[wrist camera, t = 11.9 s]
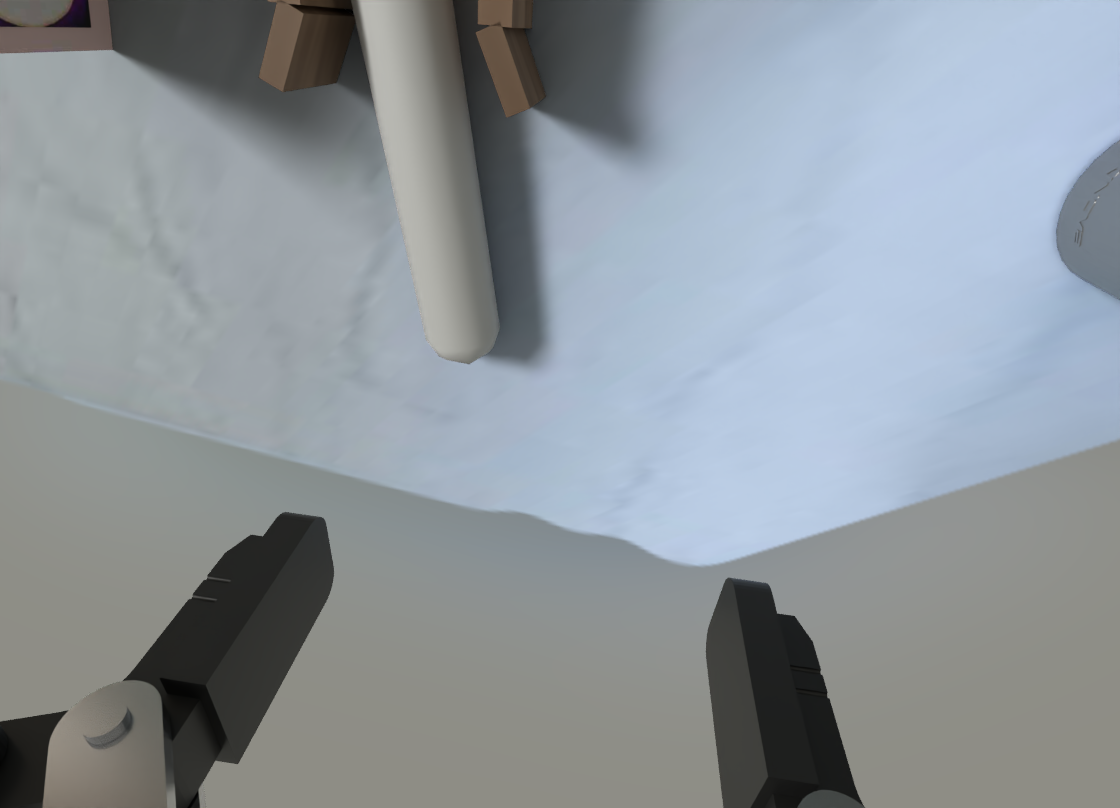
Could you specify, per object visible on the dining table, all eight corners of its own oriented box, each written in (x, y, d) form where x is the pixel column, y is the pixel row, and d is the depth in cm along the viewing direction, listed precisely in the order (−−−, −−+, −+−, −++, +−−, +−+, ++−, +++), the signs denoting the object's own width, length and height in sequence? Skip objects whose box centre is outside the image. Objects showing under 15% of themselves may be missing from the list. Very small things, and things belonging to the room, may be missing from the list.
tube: (513, 368, 38) (440, -162, 24) (429, 383, 37) (306, -157, 23) (501, 334, 42) (434, -130, 29) (426, 347, 41) (321, -124, 28)
